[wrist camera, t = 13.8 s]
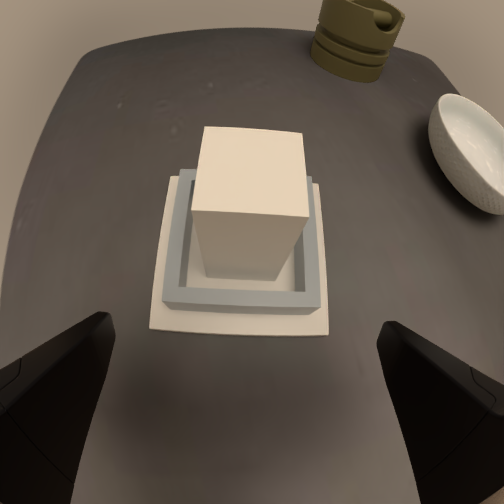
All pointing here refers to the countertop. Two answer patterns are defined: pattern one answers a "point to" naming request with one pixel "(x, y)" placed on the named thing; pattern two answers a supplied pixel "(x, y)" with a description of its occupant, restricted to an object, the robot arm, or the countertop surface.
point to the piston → (355, 37)
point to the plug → (249, 201)
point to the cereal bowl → (469, 150)
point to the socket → (236, 291)
